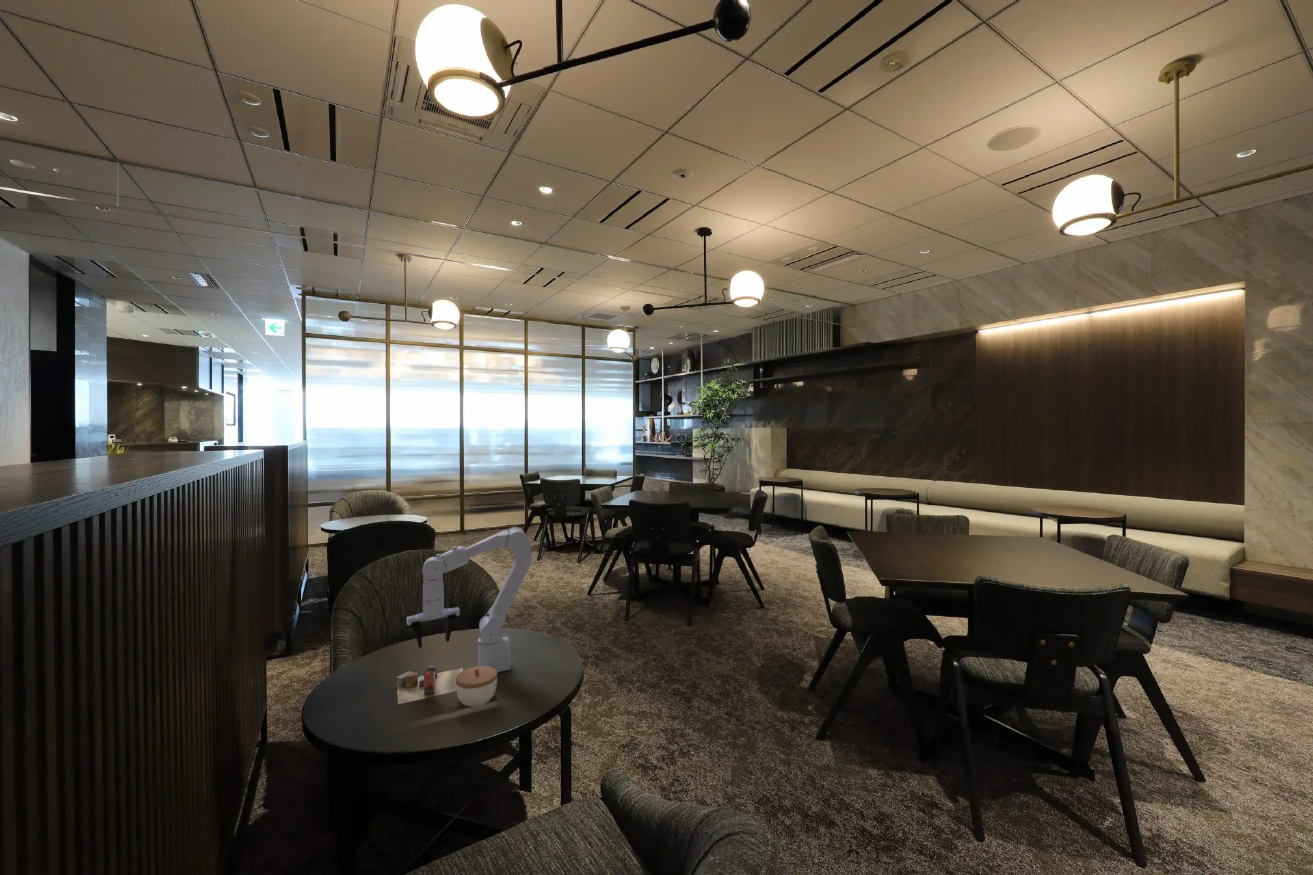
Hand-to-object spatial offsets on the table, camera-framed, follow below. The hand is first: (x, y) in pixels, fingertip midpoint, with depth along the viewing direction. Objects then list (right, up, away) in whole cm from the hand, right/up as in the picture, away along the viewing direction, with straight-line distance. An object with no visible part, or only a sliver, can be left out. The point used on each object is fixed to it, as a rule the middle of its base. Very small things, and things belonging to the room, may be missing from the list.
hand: (433, 643), depth 152 cm
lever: (+1, -9, -6) cm, 11 cm away
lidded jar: (+18, -11, -14) cm, 25 cm away
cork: (-3, -9, -7) cm, 12 cm away
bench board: (+2, -10, -7) cm, 13 cm away
